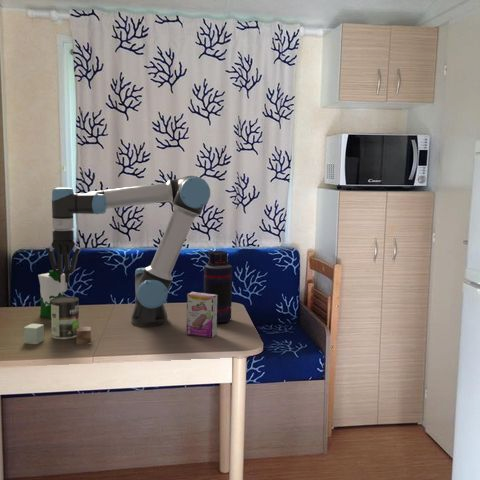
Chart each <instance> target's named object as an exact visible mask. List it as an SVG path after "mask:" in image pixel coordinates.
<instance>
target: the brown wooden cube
mask: <svg viewBox="0 0 480 480" xmlns="http://www.w3.org/2000/svg"><path fill="white" fill-rule="evenodd" d="M76 333H77V337H76V345H86V344H87V345H89V344H88V343H91V344H92V327H91V326H79V327H77V331H76Z"/></svg>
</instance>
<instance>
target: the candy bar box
mask: <svg viewBox="0 0 480 480" xmlns="http://www.w3.org/2000/svg"><path fill="white" fill-rule="evenodd" d="M217 325H218V322H217V295H214V294H206V293H204V292H196V291H191V292H189V293H187V295H186V329H185V330H186V334H185V335H190V336H197V337H201V338H202V337H203V338H210V339H212V338H213V339H214V338H215V336H216V335H217V333H218V332H217V331H218V330H217V327H218V326H217Z"/></svg>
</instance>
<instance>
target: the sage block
mask: <svg viewBox="0 0 480 480" xmlns="http://www.w3.org/2000/svg"><path fill="white" fill-rule="evenodd" d="M44 327H45V325H44V324H41V323H29V324H28V325H26V326H24V327H23V334H24V335H23V337H24V338H23V339H24V340H23V341H24V344H29V345H30V344H31V345H38V344H40V343H41V342H43V341H45V328H44Z"/></svg>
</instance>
